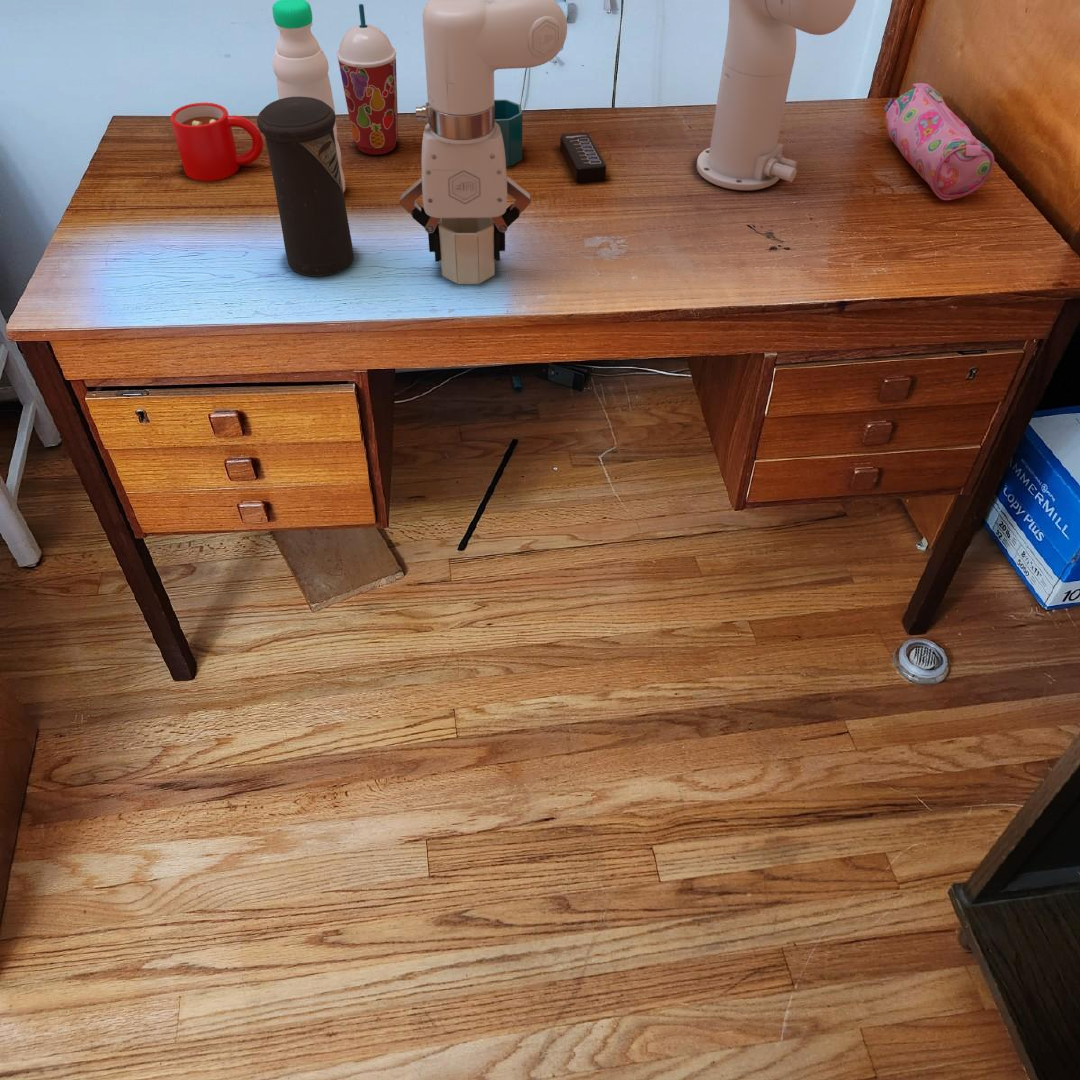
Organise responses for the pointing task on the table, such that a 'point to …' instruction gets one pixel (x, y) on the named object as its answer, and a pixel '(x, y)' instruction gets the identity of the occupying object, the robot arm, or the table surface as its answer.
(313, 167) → the container
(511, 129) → the cup far
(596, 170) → the multiport hub
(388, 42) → the smoothie
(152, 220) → the table surface
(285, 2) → the water bottle
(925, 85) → the pencil case
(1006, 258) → the table surface
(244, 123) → the mug
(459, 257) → the cup near
